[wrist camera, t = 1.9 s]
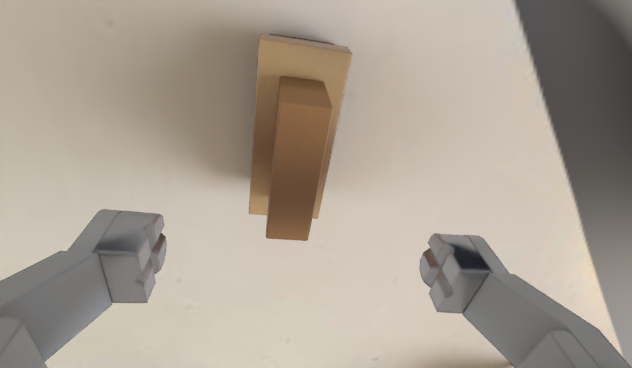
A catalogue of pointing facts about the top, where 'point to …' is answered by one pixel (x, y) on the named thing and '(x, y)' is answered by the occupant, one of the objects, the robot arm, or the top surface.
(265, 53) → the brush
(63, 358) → the top surface
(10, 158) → the top surface
